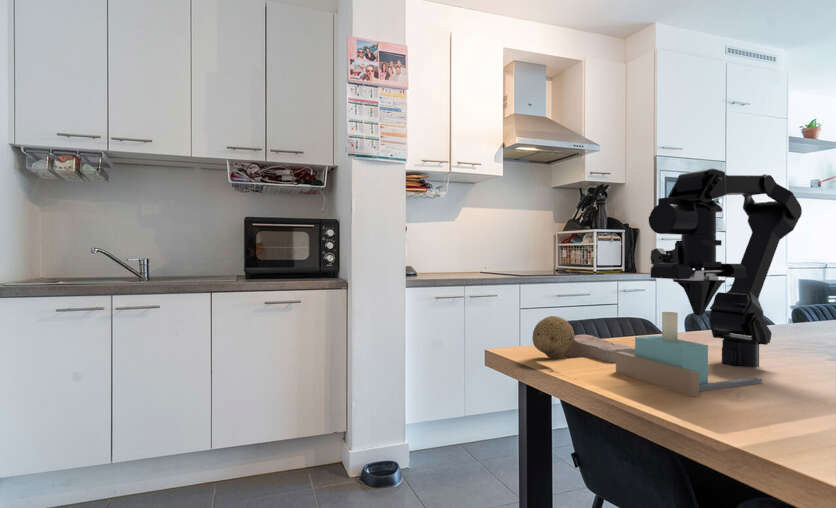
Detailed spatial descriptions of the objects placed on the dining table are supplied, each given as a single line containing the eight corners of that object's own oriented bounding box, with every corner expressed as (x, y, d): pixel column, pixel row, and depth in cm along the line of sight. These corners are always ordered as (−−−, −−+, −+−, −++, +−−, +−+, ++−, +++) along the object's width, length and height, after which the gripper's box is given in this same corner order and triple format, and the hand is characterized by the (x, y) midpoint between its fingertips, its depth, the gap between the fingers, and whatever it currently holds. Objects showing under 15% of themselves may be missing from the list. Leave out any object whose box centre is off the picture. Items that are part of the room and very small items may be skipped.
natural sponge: (554, 367, 94) (554, 320, 95) (523, 358, 102) (523, 315, 102) (582, 361, 99) (582, 317, 99) (551, 354, 107) (551, 312, 107)
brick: (642, 368, 95) (642, 345, 95) (612, 371, 92) (611, 348, 92) (587, 352, 111) (587, 333, 111) (559, 355, 108) (559, 335, 108)
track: (689, 371, 91) (689, 345, 91) (774, 394, 76) (774, 363, 76) (615, 379, 85) (615, 352, 85) (691, 406, 70) (691, 372, 70)
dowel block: (658, 372, 85) (658, 308, 85) (707, 386, 75) (707, 315, 75) (635, 374, 83) (635, 310, 83) (683, 390, 73) (682, 317, 73)
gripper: (695, 237, 97) (695, 309, 97) (628, 236, 91) (628, 312, 91) (748, 235, 87) (748, 315, 87) (676, 233, 81) (676, 319, 81)
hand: (698, 315), depth 87 cm, fingers closed
